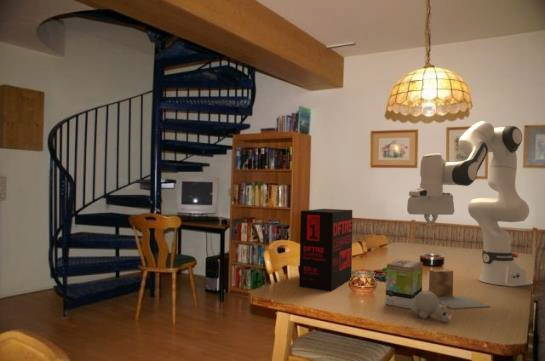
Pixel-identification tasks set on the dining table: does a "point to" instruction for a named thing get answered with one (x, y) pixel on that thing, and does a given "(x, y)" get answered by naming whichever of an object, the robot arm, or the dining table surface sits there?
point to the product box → (325, 248)
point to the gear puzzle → (380, 274)
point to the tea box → (403, 282)
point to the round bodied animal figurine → (430, 306)
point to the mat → (460, 302)
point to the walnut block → (441, 282)
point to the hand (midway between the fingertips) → (430, 225)
